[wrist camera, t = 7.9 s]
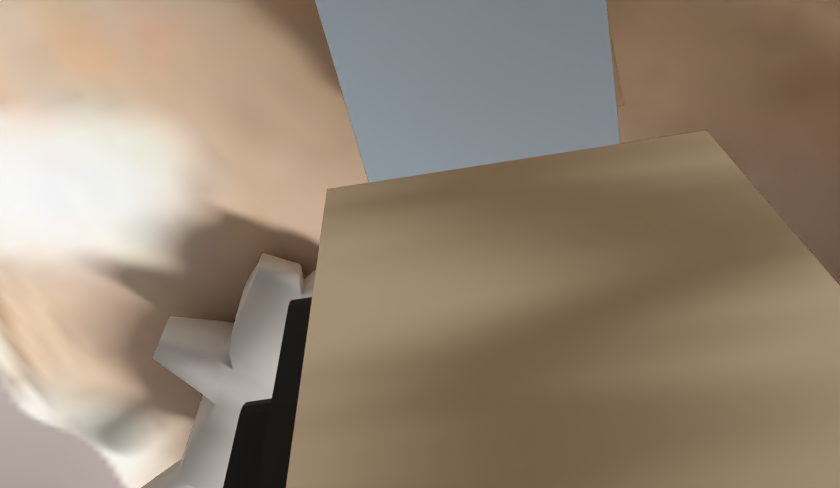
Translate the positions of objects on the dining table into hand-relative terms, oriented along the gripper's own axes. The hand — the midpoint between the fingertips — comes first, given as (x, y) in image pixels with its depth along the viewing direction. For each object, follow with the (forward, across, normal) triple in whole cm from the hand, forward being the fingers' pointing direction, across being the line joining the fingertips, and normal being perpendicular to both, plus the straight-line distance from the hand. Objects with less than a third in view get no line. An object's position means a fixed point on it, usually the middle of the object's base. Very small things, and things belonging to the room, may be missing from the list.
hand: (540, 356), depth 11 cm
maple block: (+1, 0, 0) cm, 1 cm away
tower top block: (+15, 0, 0) cm, 15 cm away
